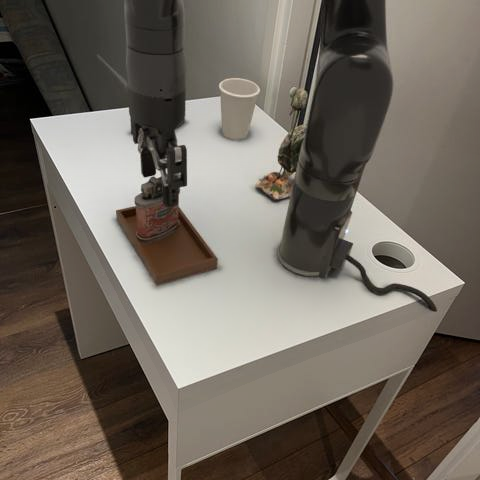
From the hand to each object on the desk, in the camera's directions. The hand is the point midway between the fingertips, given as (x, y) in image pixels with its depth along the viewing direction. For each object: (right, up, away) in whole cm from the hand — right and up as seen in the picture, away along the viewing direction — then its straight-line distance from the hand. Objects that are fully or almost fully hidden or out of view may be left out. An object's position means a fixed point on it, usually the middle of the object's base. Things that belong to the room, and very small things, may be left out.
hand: (159, 189), depth 76 cm
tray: (0, -7, +5) cm, 9 cm away
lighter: (-1, -6, +6) cm, 8 cm away
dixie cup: (+11, +21, +32) cm, 40 cm away
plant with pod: (+20, +6, +20) cm, 29 cm away
